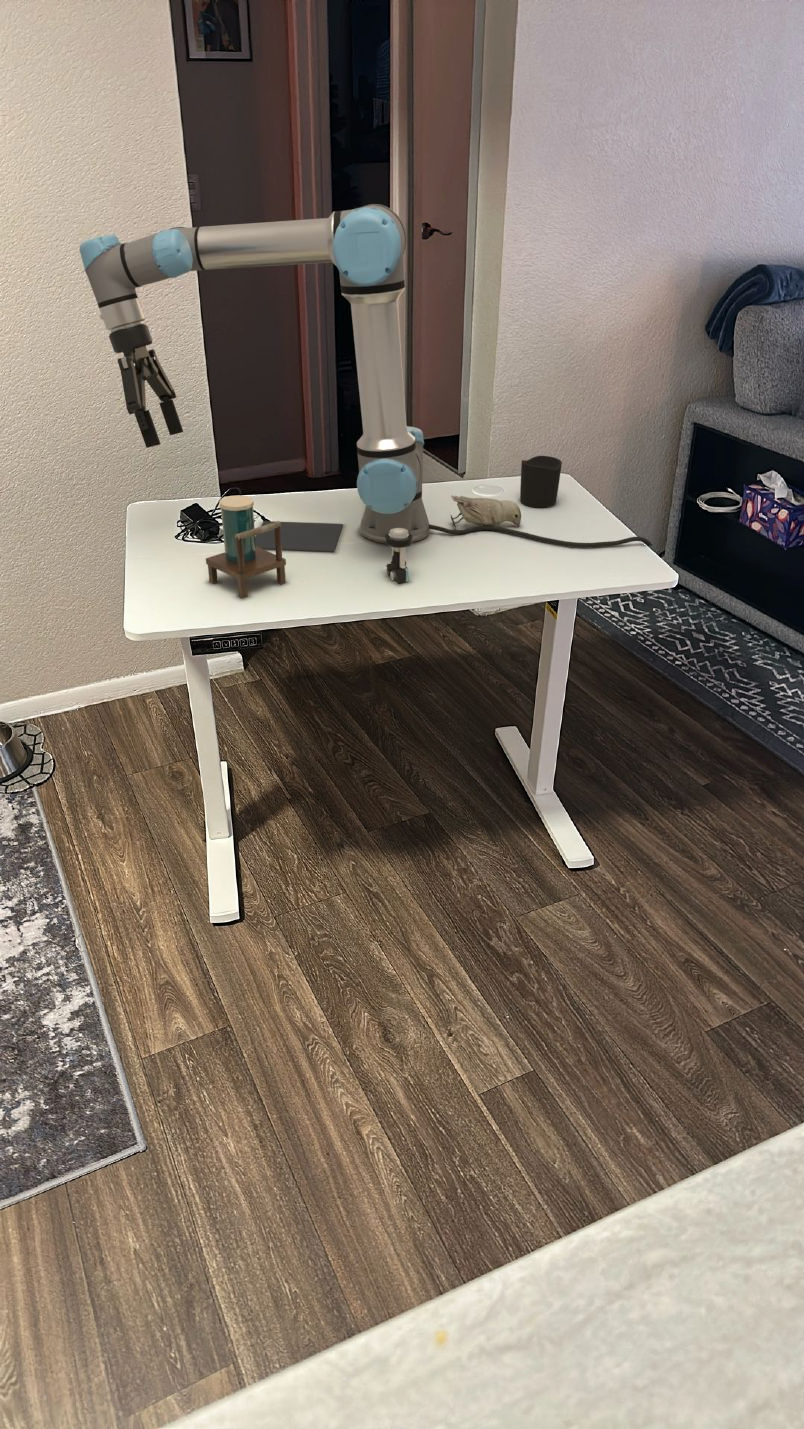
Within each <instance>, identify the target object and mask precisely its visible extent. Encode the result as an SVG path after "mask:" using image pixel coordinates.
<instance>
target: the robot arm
mask: <svg viewBox="0 0 804 1429" xmlns="http://www.w3.org/2000/svg"><path fill="white" fill-rule="evenodd" d="M406 247H407V233H406V228H405V226H404V223H403V221H402V220H401V218H400V216H399V215H398V214H397V213H396V212H395V210H393V209H391V208H390V207H388V206H386V205H383V204H377V203H372V204H367V205H363V206H361V207H357V208H353V209H347V210H346V209H345V210H336V211H333V212H331V214H330V215H329V217H324V218H322V217H321V218H310V219H309V218H308V219H294V220H281V221H280V220H279V221H278V220H277V221H266V222H252V223H238V224H237V223H236V224H223V225H207V226H198V227H195V226H194V227H193V226H192V227H186V226H175V227H171V228H168V229H165V230H162V231H158V232H156V233H153V234H149V235H146V236H144V237H141V238H137V239H135V240H132V241H130V242H123V243H121V241H120V240H119V238H118V236H117V235H115V234H106V235H102V236H98V237H94V238H93V237H92V238H91V239H87V240H85V241H83V242H82V243H81V244H80V245H79V253H80V258H81V260H82V264H83V267H84V273H85V275H86V276H87V279H88V282H89V285H90V288H91V290H92V293H93V296H94V298H95V300H96V303H97V307H98V309H99V312H100V314H99V318H100V319H101V321H102V320H103V323H104V326H105V329H106V330H107V331H110V333H109V334H108V338H109V341H110V344H111V347H112V350H113V352H114V353H115V354H121V353H122V354H123V357H120V358H117V365H118V367H119V370H120V376H121V382H122V388H123V389H122V390H123V394H124V401H125V408H126V411H127V413H128V414H129V415H134V417H135V419H136V422H137V425H138V428H139V431H140V434H141V437H142V439H143V443H144V445H145V448H146V449H149V448H153V447H156V446H157V447H158V446H160V445H161V441H160V438H159V435H158V432H157V429H156V426H155V424H154V420H153V418H152V415H151V413H150V409H147V405H146V404H147V402H146V383H147V384H148V385H149V387H150V388H151V389H152V391H153V393H154V394H155V395H156V397H157V398H158V400H159V401H160V402H159V403H158V404H159V407H160V410H161V413H162V416H163V419H164V422H165V424H166V427H167V430H168V434H169V436H173V435H178V434H181V433H184V428H183V426H182V424H181V421H180V416H179V414H178V410H177V409H176V406H175V402H174V400H175V399H176V398H177V394H176V391H175V389H174V387H173V385H172V384H171V381H170V379H169V378H168V376H167V374H166V372H165V370H164V368H163V366H162V365H161V362H160V361H159V359H158V358H159V357H158V356H157V354H156V350H155V349H154V348H152V349H147V346H150V345H152V344H153V338H152V335H151V332H150V329H149V326H148V325H147V324H146V323H144V321H145V320H146V316H145V314H144V311H143V308H142V305H141V301H140V299H139V296H138V294H137V291H136V289H137V288H141V287H143V286H147V285H150V284H154V283H158V282H162V281H165V280H169V279H175V278H178V277H180V276H182V275H184V274H187V273H189V272H197V271H198V272H199V271H207V270H222V269H223V270H224V269H225V270H226V269H240V268H241V269H242V268H256V267H257V268H258V267H275V266H277V267H278V266H295V265H308V264H309V265H311V264H328V263H332V264H333V265H334V266H336V268H337V269H338V272H339V282H340V291H341V296H343V297H344V298H345V300H347V301H348V303H349V304H350V310H351V320H352V330H353V342H354V351H355V352H354V353H355V362H356V371H357V372H356V373H357V384H358V392H359V403H360V413H361V424H362V435H361V437H360V438H359V439H358V440H357V442H356V454H357V461H358V464H357V465H358V473H357V474H358V475H357V477H356V478H357V480H356V490H357V493H358V496H359V498H360V500H361V501H362V503H363V504H364V505H365V508H364V511H363V515H362V517H361V519H360V520H361V521H360V534H361V535H362V536H363V538H366V539H367V540H369V541H371V542H376V543H380V544H386V539H385V535H386V534H387V533H389V532H390V530H391V529H393V528H404V529H407V530H408V533H410V534H412V536H413V537H412V540H411V544H412V543H416V542H419V541H422V540H424V539H426V537H428V536H429V535H430V530H434V531H438V532H442V533H444V534H448V535H465V534H470V533H472V532H479V531H494V532H501V533H505V534H509V535H512V536H513V535H514V536H519V537H522V538H527V539H531V540H534V541H538V542H543V543H548V544H552V545H558V546H562V547H563V546H565V547H573V548H601V547H602V548H603V547H614V546H620V545H624V544H629V543H633V542H640V543H644V544H645V545H646V546H648V547H651V546H653V544H652V542H651V541H650V540H649V539H647V538H646V537H642V536H630V537H627V538H623V539H618V540H611V541H598V542H577V541H576V542H575V541H566V540H561V539H555V538H549V537H545V536H541V535H536V534H532V533H529V532H524V531H522V530H521V531H520V530H515V529H511V528H506V527H502V526H498V525H496V526H482V525H475V526H471V527H468V528H464V529H456V530H455V529H450V528H447V527H443V526H439V525H435V524H434V525H433V524H430V521H429V518H428V513H427V511H426V508H425V505H424V501H423V471H424V470H423V467H424V466H423V465H424V464H423V463H424V445H425V440H424V433H423V431H422V430H421V429H420V428H418V427H415V426H407V414H406V413H407V410H406V398H405V385H404V384H405V383H404V371H403V357H402V356H403V355H402V344H401V343H402V342H401V328H400V317H399V316H400V315H399V314H400V313H399V303H398V300H399V298H400V296H401V295H402V294H403V292H404V291H405V290H406V285H405V269H404V267H405V266H404V254H405V251H406Z"/></svg>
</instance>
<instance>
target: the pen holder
mask: <svg viewBox="0 0 804 1429" xmlns="http://www.w3.org/2000/svg"><path fill="white" fill-rule="evenodd" d="M562 464H563V462H562V460H560V459H559V458H557V457H554V456H548V455H536V456H533V457H531V458H529V459H527V460H525V459H522V460H521V464H520V466H521V467H520V468H521V469H520V487H519V488H520V490H519V492H520V493H519V500H520V502H521V504H522V505H524V506H526V507H530V508H534V509H546V508H551V507H554V506H555V505H556V503H557V499H558V493H559V485H560V479H561V473H562V472H561V471H562V466H563V465H562Z"/></svg>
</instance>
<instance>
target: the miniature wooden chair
mask: <svg viewBox="0 0 804 1429" xmlns="http://www.w3.org/2000/svg"><path fill="white" fill-rule="evenodd" d="M280 522H281V521H279V520H277V521H274V523H271V524H267V525H264V526H261V525H260V526H258V527H254V528H255V529H251V530H248V531H245V532H242V533H238V534H236V535H235V538H236V546H237V558H238V562H231V561H228V560H227V559H226V558H225V551H223V552H221V553H218V554H216V555H212V556H209V557H205V564H206V565H207V571H208V580H209V581H208V582H209V583H211V584H212V585H214V584H217V583H219V580H218V571H220V572H221V573H224V574H226V575H228V576H229V577H232V578H234V579H236V582H237V594H238V598H241V599H244V598H248V587H247V579H250V578H252V577H255V576H258V575H261V574H264V573H267V572H269V571H272V570H276V584H278V585H283V584H286V582H287V581H286V566H287V560H286V558H284V557H283V551H282V544H281V523H280ZM273 529H274V532H275V549H276V550H275V553H273V552H270V551H269V550H264V549H261V548H259V547H257V546H256V558H255V559H253V560H251V561H248V562H244V551H243V539H245V538H248V537H251V536H254V535H255V536H256V535H257V534H261V533H264V532H267V531H270V530H273Z"/></svg>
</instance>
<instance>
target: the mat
mask: <svg viewBox="0 0 804 1429" xmlns="http://www.w3.org/2000/svg"><path fill="white" fill-rule="evenodd" d="M274 522H275V521H271V520H270V521H268V520H263V521H262V523H261V525H260V527H261V526H264V525H267V524H271V523H274ZM279 522H280V523H281V544H282V552H284V551H285V552H288V551H289V552H312V553H313V552H314V553H335V551H336V547H337V544H338V541H339V538H340V535H341V532H342V529H343V525H344V524H343V523H330V522H329V523H327V522H303V521H302V522H300V521H279ZM255 542H256V546H257V547H259V548H261V549H264V550H266V551H276V549H275V532H274V529H273V530H270V531H267V532H264V533H261V534H257V535H255Z"/></svg>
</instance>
